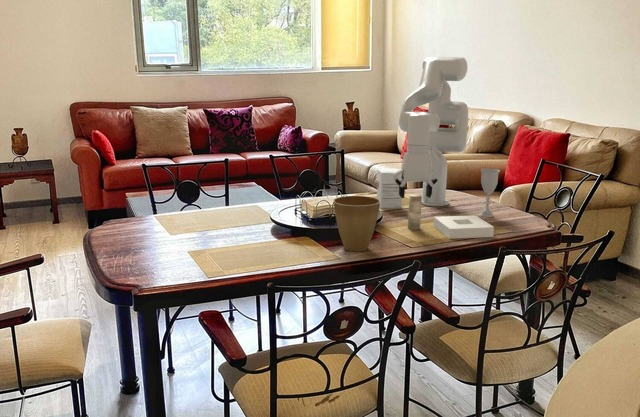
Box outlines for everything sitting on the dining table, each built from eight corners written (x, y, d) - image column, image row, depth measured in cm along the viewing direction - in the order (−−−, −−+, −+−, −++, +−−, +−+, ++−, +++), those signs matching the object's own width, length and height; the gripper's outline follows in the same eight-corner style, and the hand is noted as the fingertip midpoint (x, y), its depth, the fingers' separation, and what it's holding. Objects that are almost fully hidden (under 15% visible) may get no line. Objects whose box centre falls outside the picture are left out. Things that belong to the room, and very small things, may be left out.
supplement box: (375, 203, 263) (377, 168, 259) (396, 203, 264) (398, 168, 260) (380, 208, 254) (381, 172, 250) (401, 208, 255) (403, 172, 251)
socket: (433, 226, 230) (433, 216, 229) (474, 224, 232) (475, 215, 231) (449, 238, 214) (449, 228, 213) (493, 236, 217) (493, 227, 216)
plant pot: (388, 248, 204) (389, 200, 200) (358, 258, 193) (360, 208, 189) (352, 238, 213) (353, 192, 209) (323, 248, 203) (323, 200, 199)
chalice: (494, 213, 248) (498, 168, 244) (497, 217, 242) (501, 172, 237) (475, 212, 249) (479, 168, 244) (478, 217, 242) (481, 171, 238)
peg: (406, 226, 228) (407, 194, 225) (417, 226, 229) (419, 194, 226) (409, 230, 224) (411, 197, 221) (421, 229, 225) (423, 197, 222)
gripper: (437, 147, 224) (434, 194, 228) (390, 148, 221) (388, 195, 225) (445, 150, 217) (442, 199, 221) (396, 150, 214) (394, 199, 218)
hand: (415, 197), depth 223 cm, fingers open, 9 cm apart
